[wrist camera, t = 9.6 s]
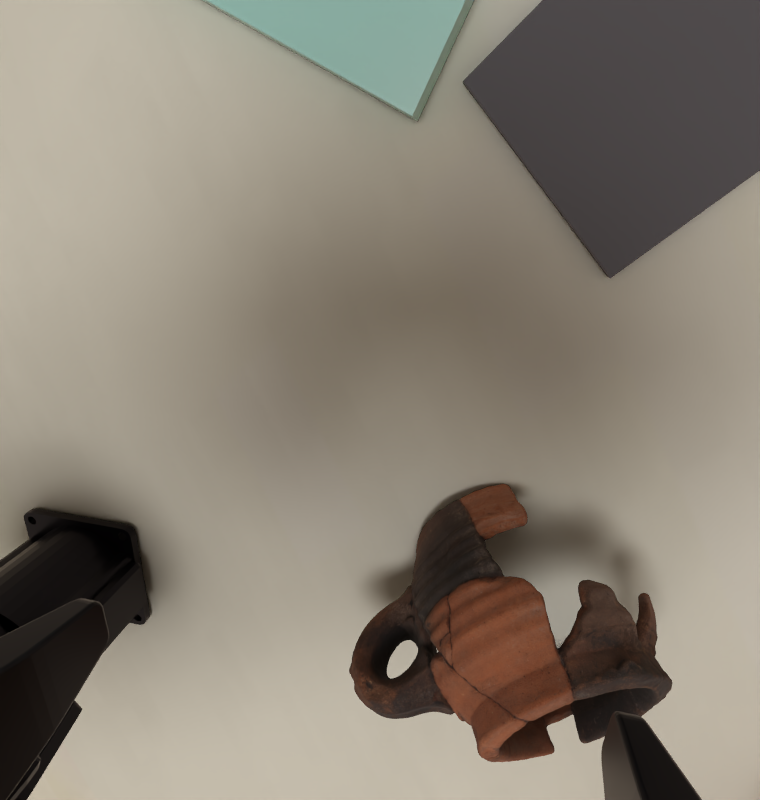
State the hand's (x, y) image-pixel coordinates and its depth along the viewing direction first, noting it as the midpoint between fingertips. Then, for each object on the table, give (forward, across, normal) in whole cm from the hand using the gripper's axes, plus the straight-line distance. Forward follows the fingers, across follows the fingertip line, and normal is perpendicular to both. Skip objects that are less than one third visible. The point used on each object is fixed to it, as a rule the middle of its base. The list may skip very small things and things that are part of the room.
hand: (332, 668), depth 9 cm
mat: (+13, -6, -11) cm, 18 cm away
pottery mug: (+13, -4, +9) cm, 16 cm away
